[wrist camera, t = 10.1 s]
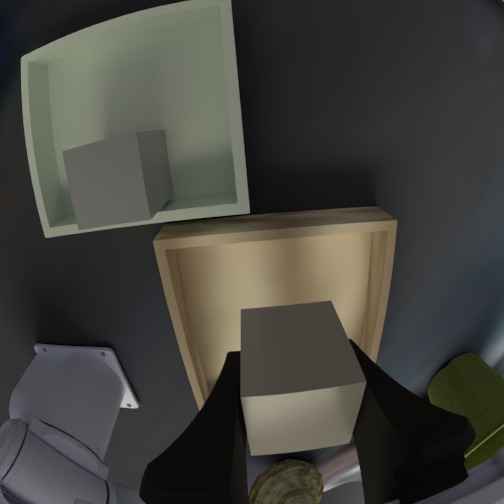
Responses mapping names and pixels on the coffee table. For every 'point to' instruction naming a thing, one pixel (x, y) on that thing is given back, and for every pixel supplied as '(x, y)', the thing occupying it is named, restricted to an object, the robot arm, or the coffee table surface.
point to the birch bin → (272, 277)
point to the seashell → (287, 484)
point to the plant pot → (473, 403)
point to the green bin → (141, 107)
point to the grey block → (119, 179)
